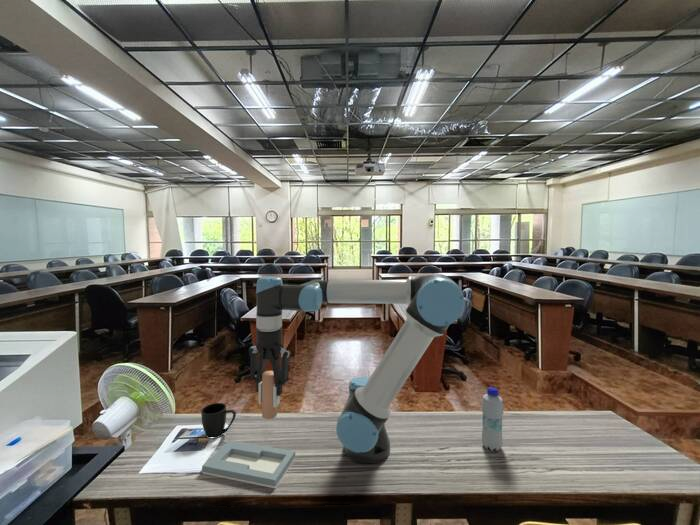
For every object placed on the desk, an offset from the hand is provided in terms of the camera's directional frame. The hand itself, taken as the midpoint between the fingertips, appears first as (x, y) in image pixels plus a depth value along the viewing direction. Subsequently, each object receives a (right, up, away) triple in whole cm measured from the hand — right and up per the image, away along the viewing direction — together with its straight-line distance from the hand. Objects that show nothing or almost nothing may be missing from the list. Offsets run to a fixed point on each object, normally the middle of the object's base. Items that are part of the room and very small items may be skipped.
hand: (269, 403), depth 98 cm
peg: (0, -4, 0) cm, 4 cm away
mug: (-22, -19, +17) cm, 34 cm away
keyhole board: (-6, -19, +1) cm, 20 cm away
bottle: (+72, -18, +9) cm, 75 cm away
